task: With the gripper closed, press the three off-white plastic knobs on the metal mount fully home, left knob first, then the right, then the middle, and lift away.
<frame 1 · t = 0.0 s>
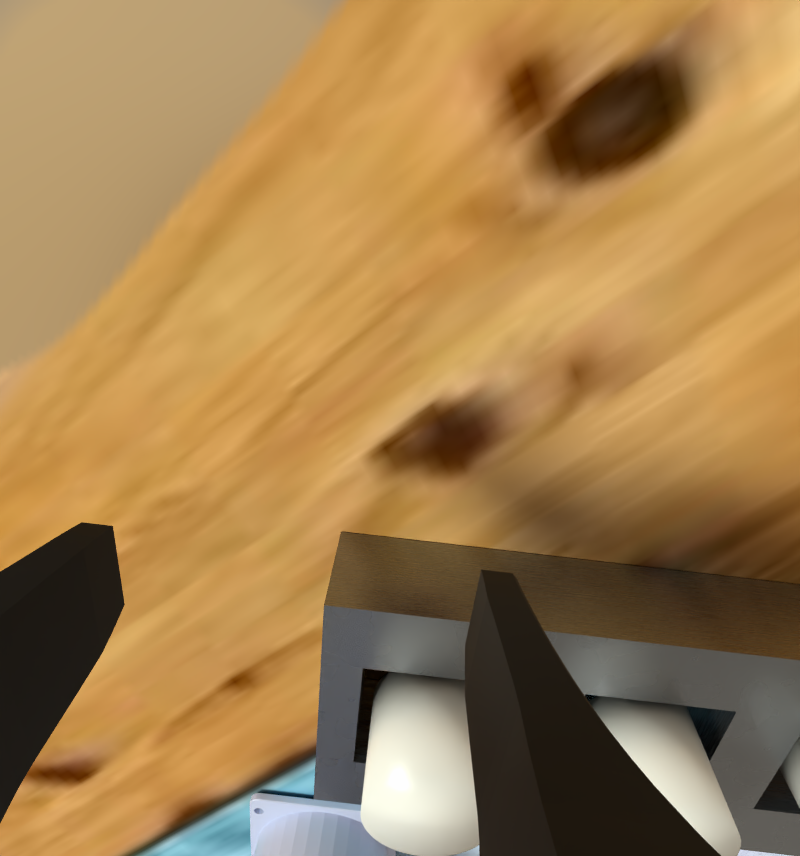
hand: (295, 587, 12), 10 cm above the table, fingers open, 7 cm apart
knob middle: (649, 780, 22), point 5 cm above the table, slide at 0.0 cm
knob mount: (612, 664, 26), on the table
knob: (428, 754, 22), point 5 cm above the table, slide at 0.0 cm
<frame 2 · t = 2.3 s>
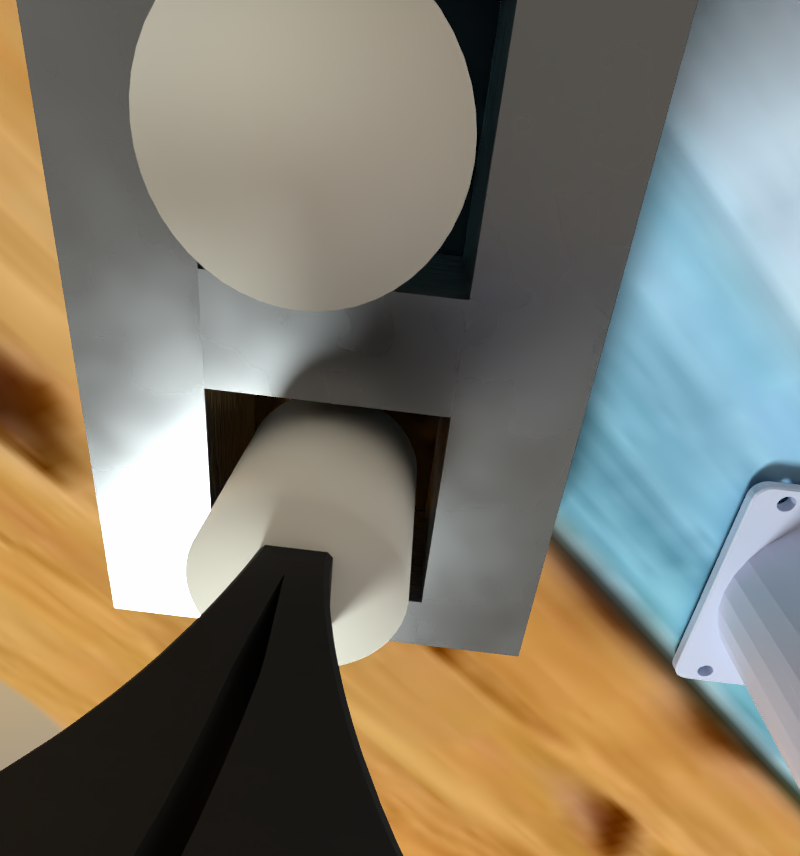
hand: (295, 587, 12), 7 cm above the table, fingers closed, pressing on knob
knob middle: (330, 135, 10), point 5 cm above the table, slide at 0.0 cm
knob mount: (365, 127, 14), on the table
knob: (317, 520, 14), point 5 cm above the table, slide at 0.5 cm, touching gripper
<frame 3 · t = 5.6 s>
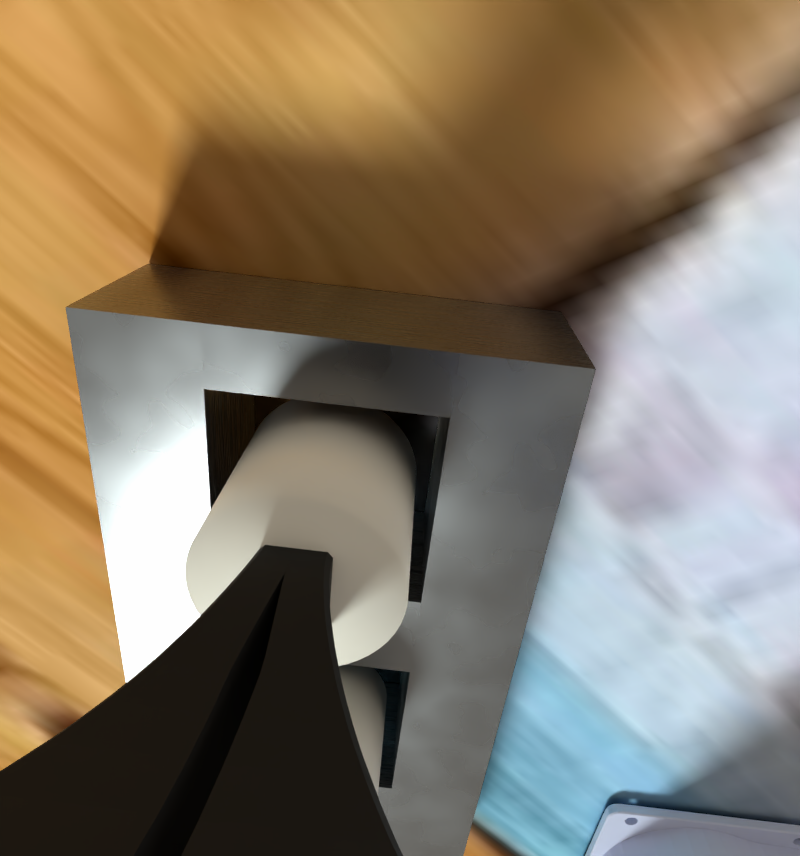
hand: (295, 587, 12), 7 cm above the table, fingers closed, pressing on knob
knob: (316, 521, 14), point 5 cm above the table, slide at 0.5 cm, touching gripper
knob middle: (303, 759, 17), point 5 cm above the table, slide at 0.0 cm
knob mount: (331, 623, 22), on the table
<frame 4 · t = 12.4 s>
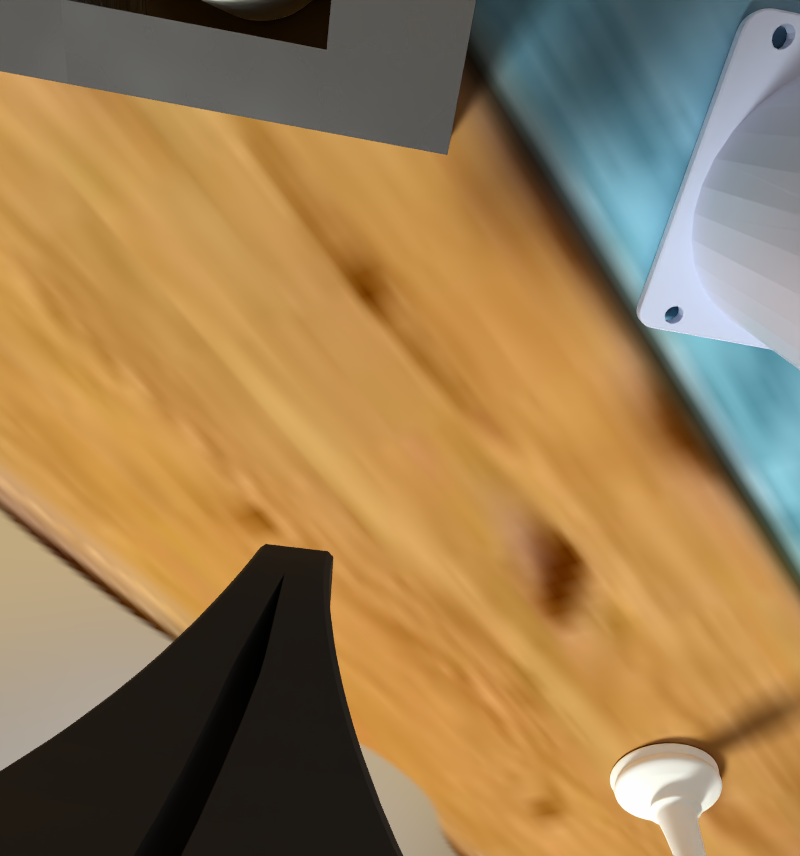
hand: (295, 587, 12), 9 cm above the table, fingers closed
chess piece: (661, 771, 29), on the table
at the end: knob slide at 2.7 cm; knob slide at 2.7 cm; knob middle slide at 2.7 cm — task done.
